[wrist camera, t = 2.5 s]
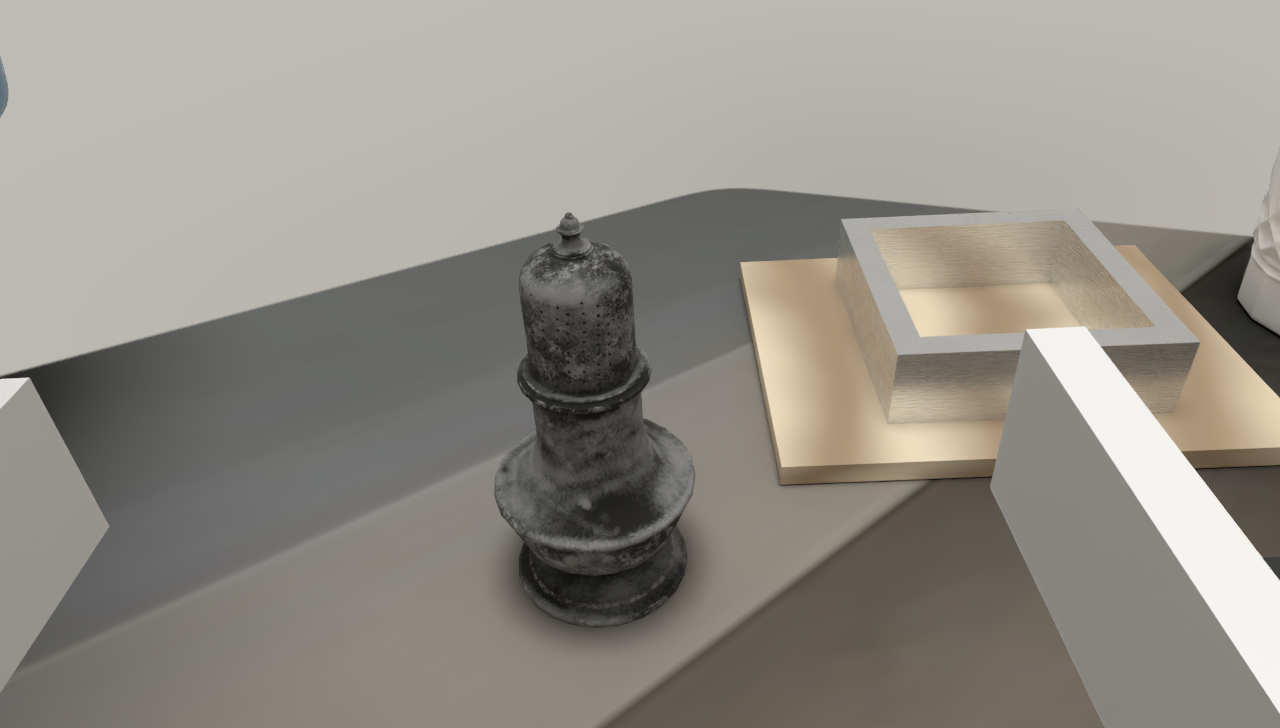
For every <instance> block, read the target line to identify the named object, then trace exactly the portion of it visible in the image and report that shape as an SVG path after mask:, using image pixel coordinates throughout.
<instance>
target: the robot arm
mask: <svg viewBox="0 0 1280 728" xmlns="http://www.w3.org/2000/svg"><path fill="white" fill-rule="evenodd" d="M7 101H8V84H7V80H6V76H5V71H4V68H3V64H2V61H1V57H0V117H1V115H2V114H3V112H4V110H5V108H6V106H7ZM990 488H991V490H992V493H993V495H994V497H995V499H996V501H997V503H998V505H999V507H1000V509H1001V511H1002V514H1003V516H1004V518H1005V520H1006V522H1007V524H1008V526H1009V528H1010V530H1011V532H1012V535H1013V537H1014V539H1015V541H1016V543H1017V545H1018V547H1019V549H1020V551H1021V553H1022V556H1023V558H1024V560H1025V562H1026V564H1027V566H1028V568H1029V570H1030V572H1031V574H1032V577H1033V579H1034V581H1035V583H1036V585H1037V587H1038V589H1039V591H1040V593H1041V595H1042V598H1043V600H1044V602H1045V604H1046V606H1047V608H1048V610H1049V612H1050V614H1051V616H1052V619H1053V621H1054V623H1055V625H1056V627H1057V629H1058V631H1059V633H1060V635H1061V637H1062V640H1063V642H1064V644H1065V646H1066V648H1067V650H1068V652H1069V654H1070V656H1071V658H1072V661H1073V663H1074V665H1075V667H1076V669H1077V671H1078V673H1079V675H1080V677H1081V679H1082V682H1083V684H1084V686H1085V688H1086V690H1087V692H1088V694H1089V696H1090V698H1091V700H1092V703H1093V705H1094V707H1095V709H1096V711H1097V713H1098V715H1099V717H1100V719H1101V721H1102V724H1103V726H1104V728H1280V557H1271V558H1262V557H1261V556H1260V554H1259V553H1258V552H1257V550H1256V549H1255V548H1254V546H1253V545H1252V544H1251V542H1250V541H1249V540H1248V539H1247V537H1246V536H1245V535H1244V533H1243V532H1242V531H1241V529H1240V528H1239V527H1238V525H1237V524H1236V523H1235V522H1234V520H1233V519H1232V518H1231V516H1230V515H1229V514H1228V512H1227V511H1226V510H1225V508H1224V507H1223V506H1222V505H1221V503H1220V502H1219V501H1218V499H1217V498H1216V497H1215V495H1214V494H1213V493H1212V491H1211V490H1210V489H1209V488H1208V486H1207V485H1206V484H1205V482H1204V481H1203V480H1202V478H1201V477H1200V476H1199V474H1198V473H1197V472H1196V471H1195V469H1194V468H1193V467H1192V465H1191V464H1190V463H1189V461H1188V460H1187V459H1186V457H1185V456H1184V455H1183V454H1182V452H1181V451H1180V450H1179V448H1178V447H1177V446H1176V444H1175V443H1174V442H1173V440H1172V439H1171V438H1170V437H1169V435H1168V434H1167V433H1166V431H1165V430H1164V429H1163V427H1162V426H1161V425H1160V424H1159V422H1158V421H1157V420H1156V418H1155V417H1154V416H1153V414H1152V413H1151V412H1150V410H1149V409H1148V408H1147V407H1146V405H1145V404H1144V403H1143V401H1142V400H1141V399H1140V397H1139V396H1138V395H1137V393H1136V392H1135V391H1134V390H1133V388H1132V387H1131V386H1130V384H1129V383H1128V382H1127V380H1126V379H1125V378H1124V376H1123V375H1122V374H1121V373H1120V371H1119V370H1118V369H1117V367H1116V366H1115V365H1114V363H1113V362H1112V361H1111V359H1110V358H1109V357H1108V356H1107V354H1106V353H1105V352H1104V350H1103V349H1102V348H1101V346H1100V345H1099V344H1098V342H1097V341H1096V340H1095V339H1094V337H1093V336H1092V335H1091V333H1090V332H1089V331H1088V329H1087V328H1086V327H1085V326H1083V327H1063V328H1042V329H1026V330H1025V334H1024V338H1023V343H1022V347H1021V352H1020V356H1019V361H1018V365H1017V370H1016V374H1015V378H1014V383H1013V387H1012V392H1011V396H1010V401H1009V405H1008V409H1007V414H1006V418H1005V423H1004V427H1003V432H1002V436H1001V441H1000V445H999V449H998V454H997V458H996V463H995V467H994V472H993V476H992V481H991V485H990ZM108 528H109V525H108V523H107V521H106V519H105V517H104V515H103V514H102V512H101V510H100V508H99V506H98V504H97V502H96V500H95V499H94V497H93V495H92V493H91V491H90V489H89V487H88V486H87V484H86V482H85V480H84V478H83V476H82V474H81V473H80V471H79V469H78V467H77V465H76V463H75V461H74V459H73V458H72V456H71V454H70V452H69V450H68V448H67V446H66V445H65V443H64V441H63V439H62V437H61V435H60V433H59V432H58V430H57V428H56V426H55V424H54V422H53V420H52V418H51V417H50V415H49V413H48V411H47V409H46V407H45V405H44V404H43V402H42V400H41V398H40V396H39V394H38V392H37V391H36V389H35V387H34V385H33V383H32V381H31V379H30V378H10V379H0V693H1V691H2V690H3V688H4V687H5V685H6V684H7V682H8V681H9V679H10V678H11V676H12V675H13V673H14V671H15V670H16V668H17V667H18V665H19V664H20V662H21V661H22V659H23V658H24V656H25V655H26V653H27V652H28V650H29V649H30V647H31V646H32V644H33V642H34V641H35V639H36V638H37V636H38V635H39V633H40V632H41V630H42V629H43V627H44V626H45V624H46V623H47V621H48V620H49V618H50V616H51V615H52V613H53V612H54V610H55V609H56V607H57V606H58V604H59V603H60V601H61V600H62V598H63V597H64V595H65V594H66V592H67V591H68V589H69V587H70V586H71V584H72V583H73V581H74V580H75V578H76V577H77V575H78V574H79V572H80V571H81V569H82V568H83V566H84V565H85V563H86V562H87V560H88V558H89V557H90V555H91V554H92V552H93V551H94V549H95V548H96V546H97V545H98V543H99V542H100V540H101V539H102V537H103V536H104V534H105V533H106V531H107V529H108Z"/></svg>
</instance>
